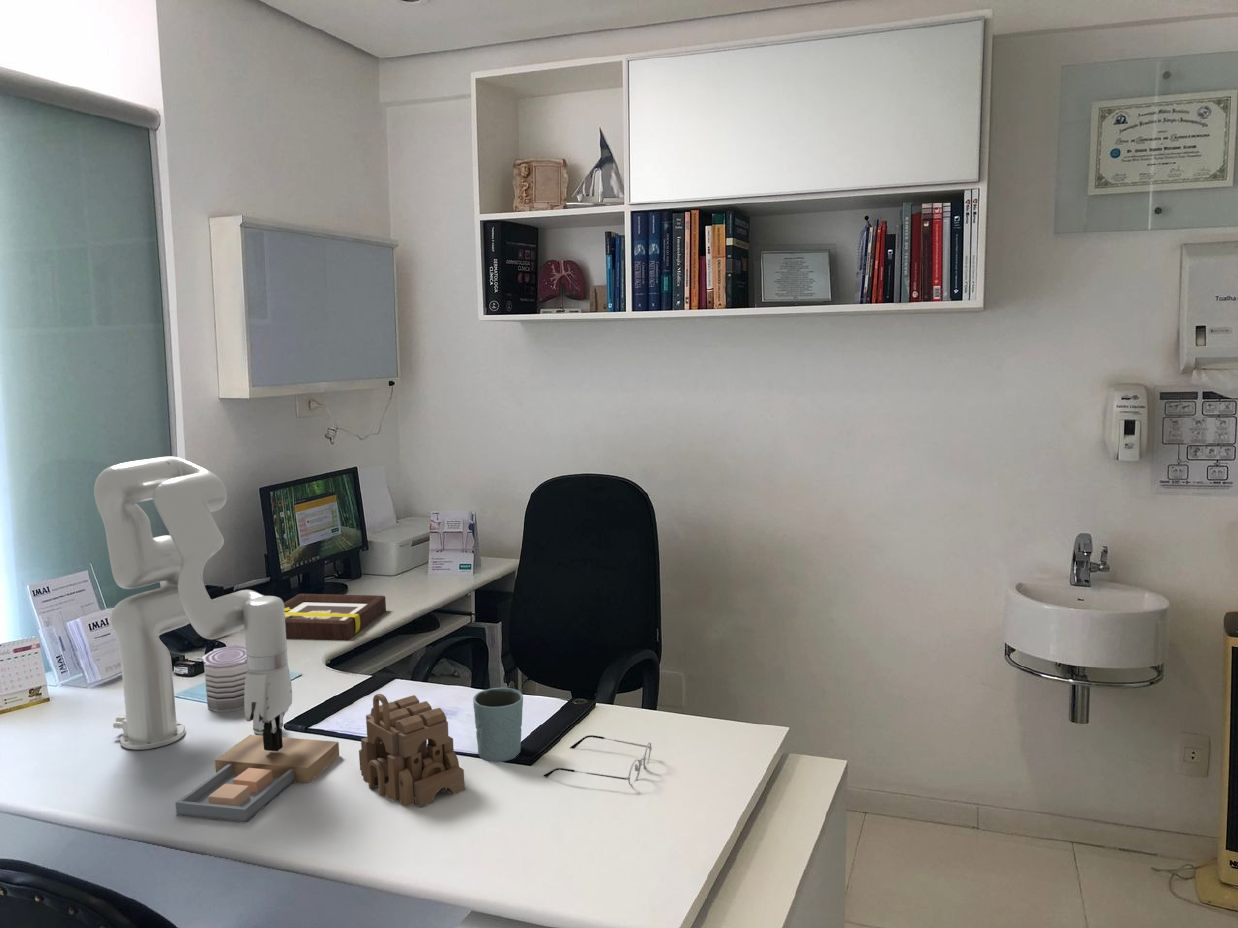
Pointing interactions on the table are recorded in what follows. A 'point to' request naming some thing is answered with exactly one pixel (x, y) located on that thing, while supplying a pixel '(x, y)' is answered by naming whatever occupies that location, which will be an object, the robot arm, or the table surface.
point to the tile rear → (254, 779)
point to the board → (281, 757)
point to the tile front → (230, 795)
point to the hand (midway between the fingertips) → (273, 748)
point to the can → (225, 678)
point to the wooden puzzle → (409, 752)
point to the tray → (199, 805)
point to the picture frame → (330, 615)
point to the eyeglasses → (609, 775)
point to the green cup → (498, 723)
